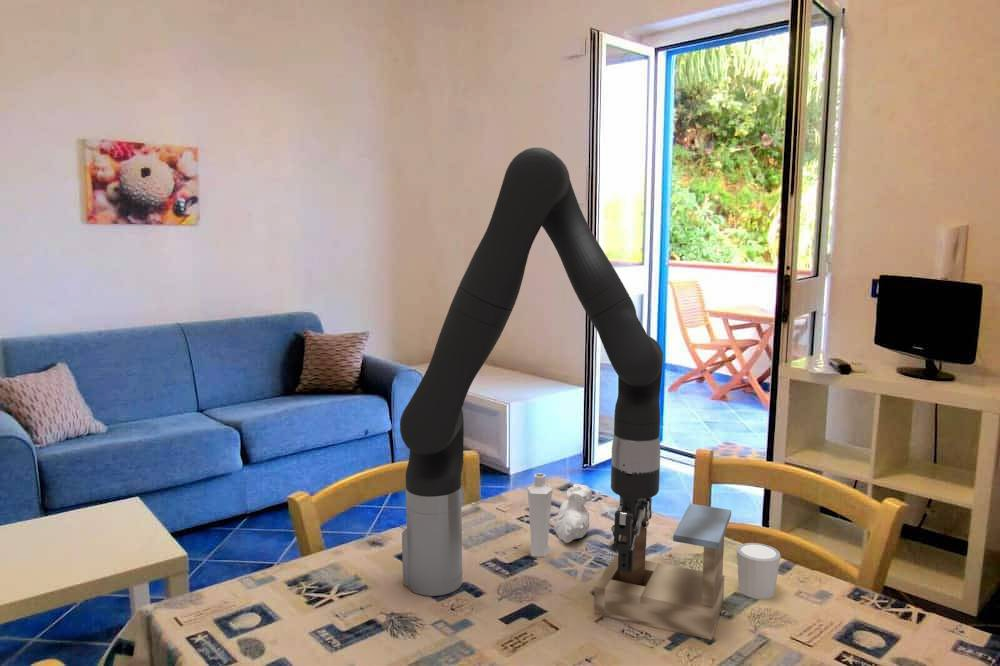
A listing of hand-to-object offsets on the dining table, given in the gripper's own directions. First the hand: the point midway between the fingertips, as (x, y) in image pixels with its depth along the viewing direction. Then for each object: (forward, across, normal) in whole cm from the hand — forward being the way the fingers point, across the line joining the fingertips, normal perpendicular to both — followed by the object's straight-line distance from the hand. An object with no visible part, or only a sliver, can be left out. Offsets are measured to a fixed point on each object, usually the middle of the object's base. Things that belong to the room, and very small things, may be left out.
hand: (632, 559), depth 118 cm
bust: (+8, -20, -17) cm, 27 cm away
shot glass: (+7, -12, +18) cm, 23 cm away
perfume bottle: (+8, -10, -20) cm, 24 cm away
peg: (+7, 0, 0) cm, 7 cm away
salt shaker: (+8, -19, -6) cm, 21 cm away
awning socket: (+7, 0, +5) cm, 9 cm away
